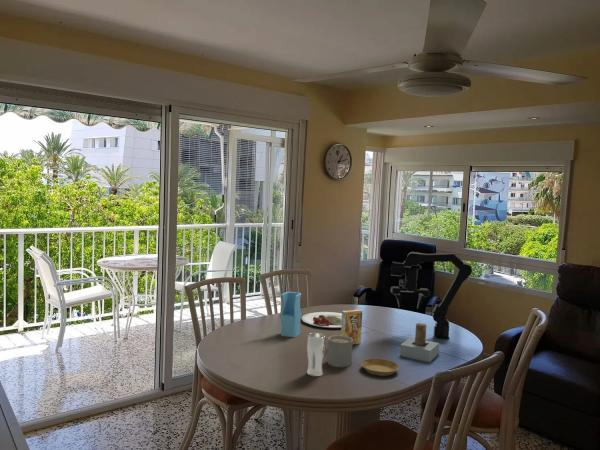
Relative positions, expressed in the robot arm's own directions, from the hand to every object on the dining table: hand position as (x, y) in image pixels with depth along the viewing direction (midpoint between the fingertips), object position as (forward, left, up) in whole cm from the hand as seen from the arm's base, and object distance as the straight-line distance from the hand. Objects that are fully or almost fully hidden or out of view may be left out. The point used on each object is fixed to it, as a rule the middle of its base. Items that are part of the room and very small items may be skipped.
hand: (408, 308), depth 242 cm
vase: (+58, +14, -13) cm, 61 cm away
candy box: (+29, +22, -13) cm, 38 cm away
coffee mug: (+33, +47, -13) cm, 59 cm away
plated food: (+40, -13, -14) cm, 44 cm away
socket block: (-1, +32, -13) cm, 35 cm away
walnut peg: (-1, +32, -13) cm, 34 cm away
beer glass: (+43, +62, -13) cm, 76 cm away
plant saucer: (+18, +54, -14) cm, 58 cm away
